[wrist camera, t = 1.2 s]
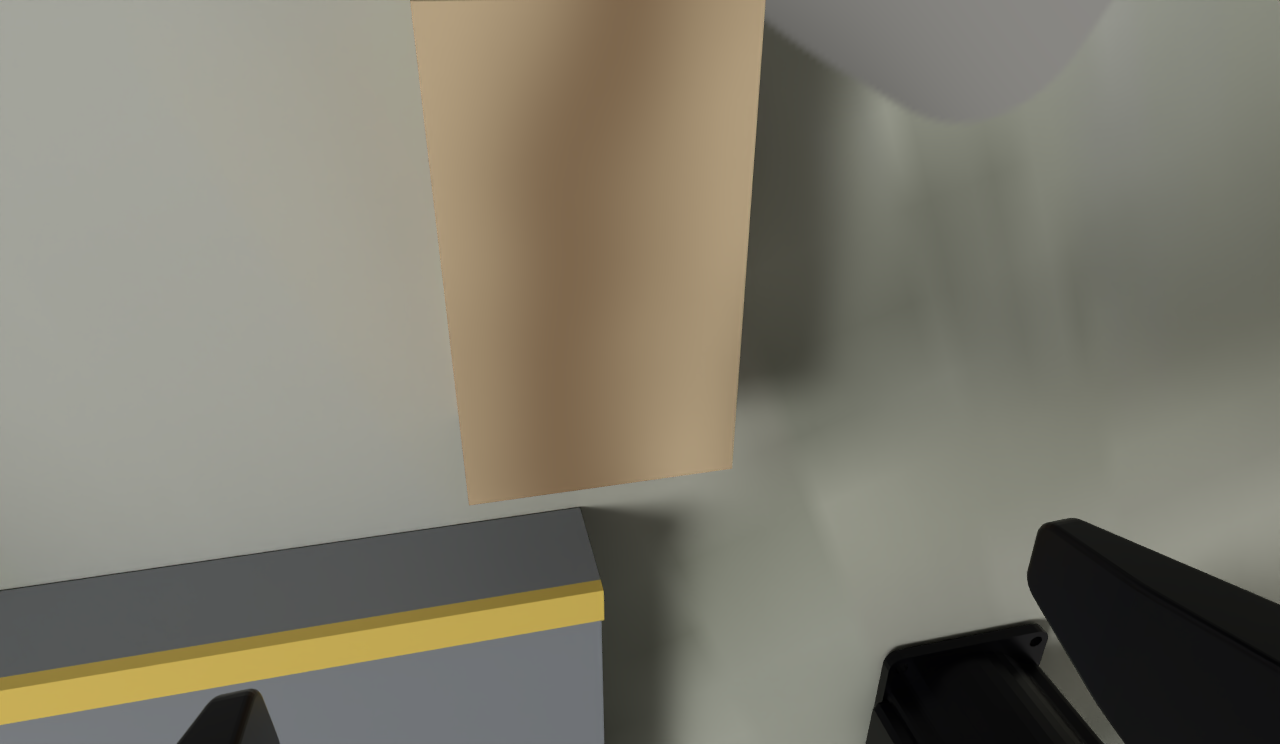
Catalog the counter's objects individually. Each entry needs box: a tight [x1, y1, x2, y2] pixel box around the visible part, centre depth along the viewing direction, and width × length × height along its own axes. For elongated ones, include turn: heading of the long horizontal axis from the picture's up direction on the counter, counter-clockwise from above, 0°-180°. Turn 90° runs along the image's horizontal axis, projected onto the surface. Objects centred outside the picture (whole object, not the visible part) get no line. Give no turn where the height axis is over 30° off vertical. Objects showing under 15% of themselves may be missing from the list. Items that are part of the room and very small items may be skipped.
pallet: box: [410, 0, 766, 505], centre depth 18 cm, size 6×10×4 cm, turn 179°
